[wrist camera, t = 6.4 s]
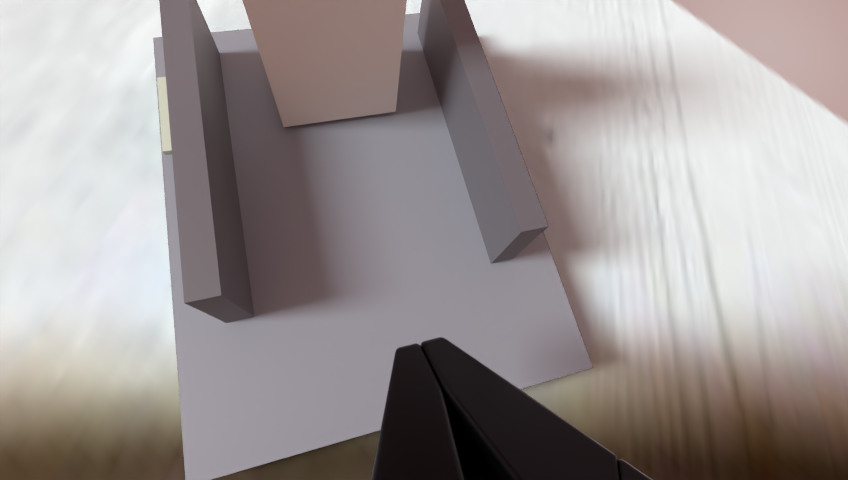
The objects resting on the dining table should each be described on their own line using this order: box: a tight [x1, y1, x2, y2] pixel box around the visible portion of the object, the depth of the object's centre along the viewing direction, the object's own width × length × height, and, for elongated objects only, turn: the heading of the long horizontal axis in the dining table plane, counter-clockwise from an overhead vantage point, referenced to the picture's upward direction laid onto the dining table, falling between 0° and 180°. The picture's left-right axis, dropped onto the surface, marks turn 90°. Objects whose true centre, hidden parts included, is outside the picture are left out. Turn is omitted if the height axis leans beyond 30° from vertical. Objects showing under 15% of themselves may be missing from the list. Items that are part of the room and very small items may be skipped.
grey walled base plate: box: [153, 0, 593, 480], centre depth 14 cm, size 15×12×4 cm
